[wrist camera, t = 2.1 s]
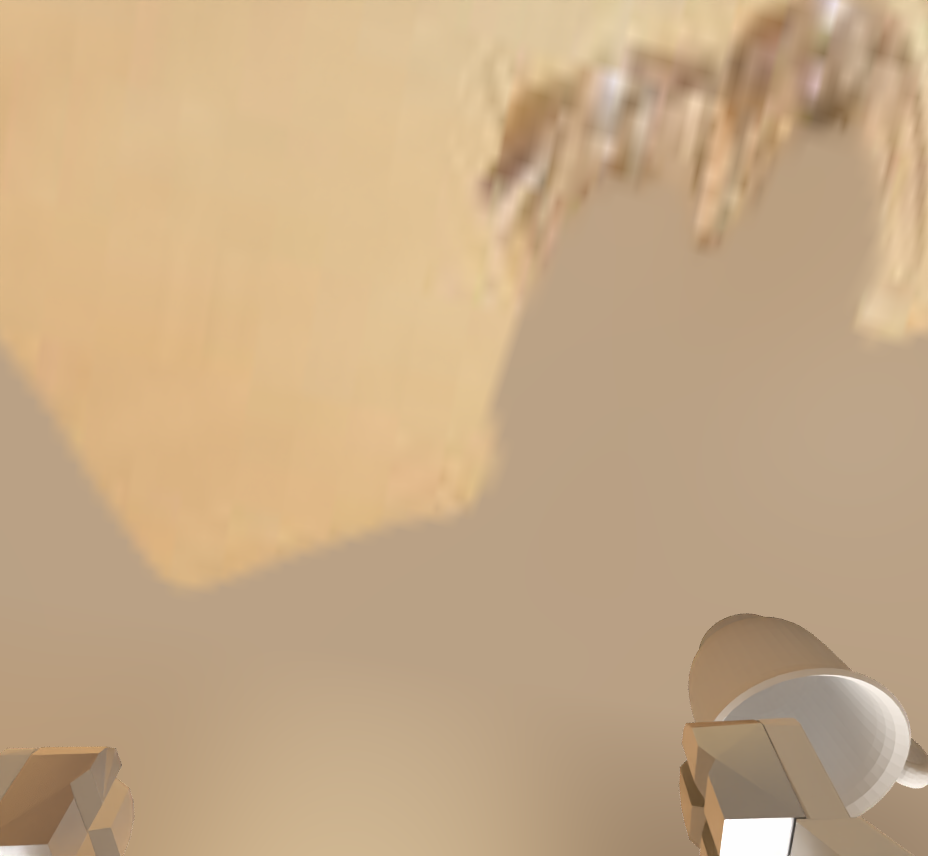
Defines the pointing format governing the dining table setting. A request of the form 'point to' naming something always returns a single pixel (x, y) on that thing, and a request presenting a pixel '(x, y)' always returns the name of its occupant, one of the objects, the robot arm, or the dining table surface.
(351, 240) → the dining table surface
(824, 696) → the teacup
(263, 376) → the dining table surface
